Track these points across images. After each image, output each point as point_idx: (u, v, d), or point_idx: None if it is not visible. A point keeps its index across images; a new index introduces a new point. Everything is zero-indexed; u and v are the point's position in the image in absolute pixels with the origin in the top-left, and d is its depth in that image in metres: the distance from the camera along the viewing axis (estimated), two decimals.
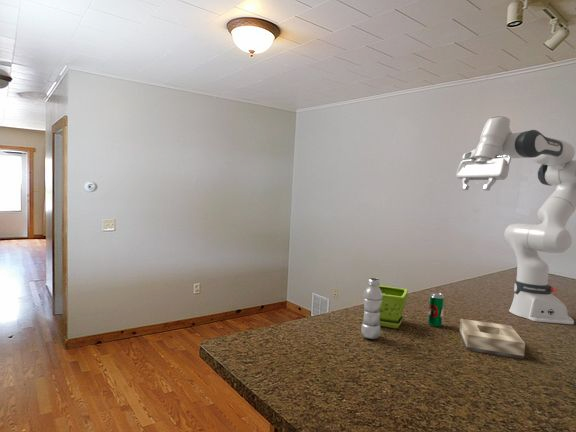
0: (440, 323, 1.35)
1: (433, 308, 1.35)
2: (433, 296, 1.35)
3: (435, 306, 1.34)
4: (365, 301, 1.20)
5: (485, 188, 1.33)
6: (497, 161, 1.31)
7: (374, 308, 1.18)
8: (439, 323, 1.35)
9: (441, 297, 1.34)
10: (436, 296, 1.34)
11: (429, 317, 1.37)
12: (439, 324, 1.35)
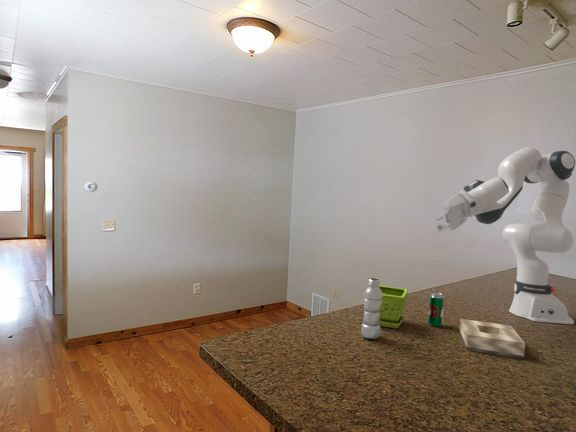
0: (440, 323, 1.35)
1: (433, 308, 1.35)
2: (433, 296, 1.35)
3: (435, 306, 1.34)
4: (365, 301, 1.20)
5: (439, 230, 1.47)
6: (463, 221, 1.47)
7: (374, 308, 1.18)
8: (439, 323, 1.35)
9: (441, 297, 1.34)
10: (436, 296, 1.34)
11: (429, 317, 1.37)
12: (439, 324, 1.35)
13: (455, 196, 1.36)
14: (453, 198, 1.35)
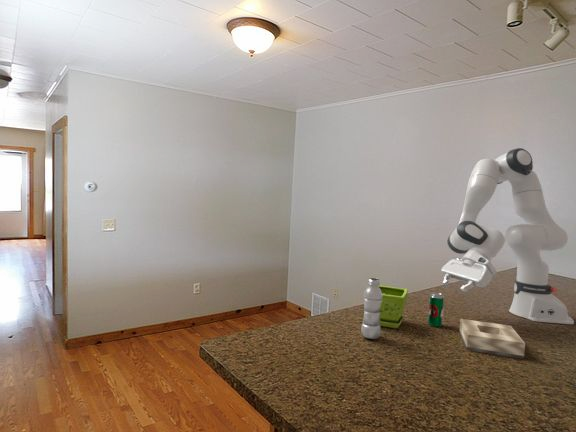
0: (440, 323, 1.35)
1: (433, 308, 1.35)
2: (433, 296, 1.35)
3: (435, 306, 1.34)
4: (365, 301, 1.20)
5: None
6: None
7: (374, 308, 1.18)
8: (439, 323, 1.35)
9: (441, 297, 1.34)
10: (436, 296, 1.34)
11: (429, 317, 1.37)
12: (439, 324, 1.35)
13: (486, 272, 1.33)
14: (485, 275, 1.32)
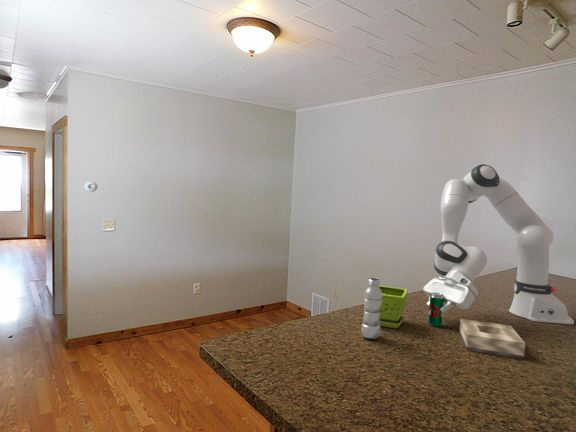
0: (440, 323, 1.35)
1: (433, 308, 1.35)
2: (433, 296, 1.35)
3: (435, 306, 1.34)
4: (365, 301, 1.20)
5: None
6: None
7: (374, 308, 1.18)
8: (439, 323, 1.35)
9: (441, 297, 1.34)
10: (436, 296, 1.34)
11: (429, 317, 1.37)
12: (439, 324, 1.35)
13: (468, 294, 1.29)
14: (467, 297, 1.29)
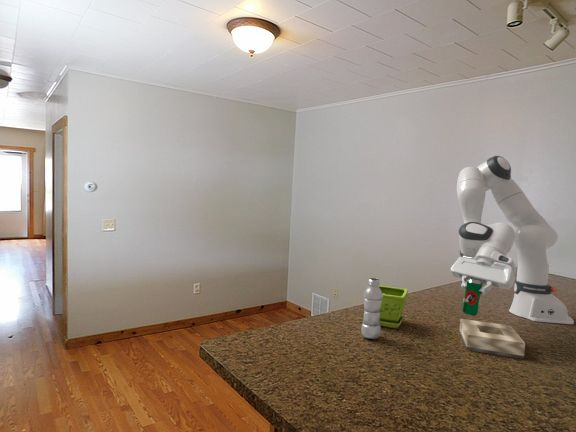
0: (477, 312, 1.23)
1: (471, 294, 1.22)
2: (472, 281, 1.23)
3: (474, 293, 1.22)
4: (365, 301, 1.20)
5: None
6: None
7: (374, 308, 1.18)
8: (476, 311, 1.22)
9: (481, 283, 1.23)
10: (476, 281, 1.22)
11: (464, 304, 1.24)
12: (476, 313, 1.22)
13: (512, 273, 1.19)
14: (512, 276, 1.19)
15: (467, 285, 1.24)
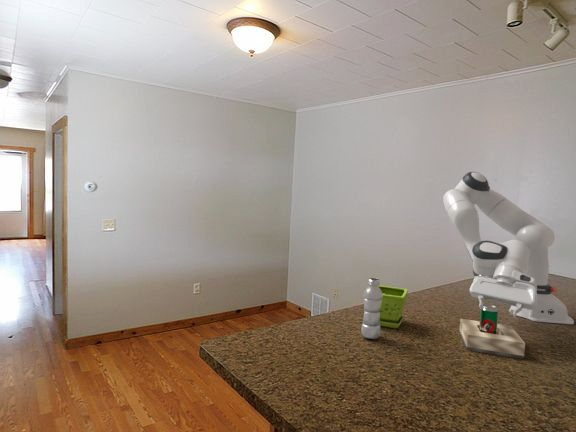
0: None
1: (488, 323, 1.18)
2: (488, 309, 1.18)
3: (491, 321, 1.17)
4: (365, 301, 1.20)
5: None
6: None
7: (374, 308, 1.18)
8: None
9: (496, 310, 1.18)
10: (492, 309, 1.18)
11: None
12: None
13: (536, 293, 1.17)
14: (536, 296, 1.17)
15: (483, 313, 1.19)
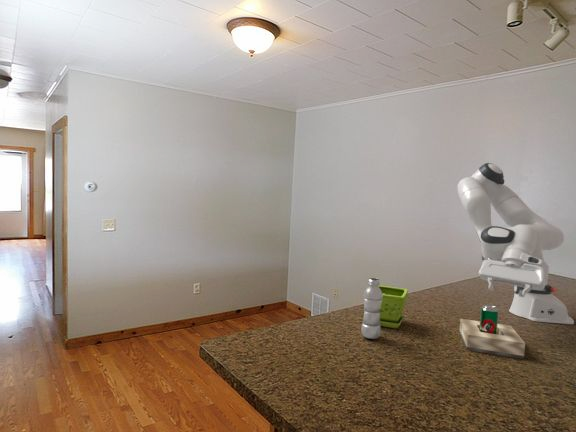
0: None
1: (489, 323, 1.18)
2: (488, 309, 1.18)
3: (491, 321, 1.17)
4: (365, 301, 1.20)
5: None
6: None
7: (374, 308, 1.18)
8: None
9: (497, 310, 1.18)
10: (492, 309, 1.18)
11: None
12: None
13: (544, 274, 1.22)
14: (544, 277, 1.21)
15: (483, 313, 1.19)
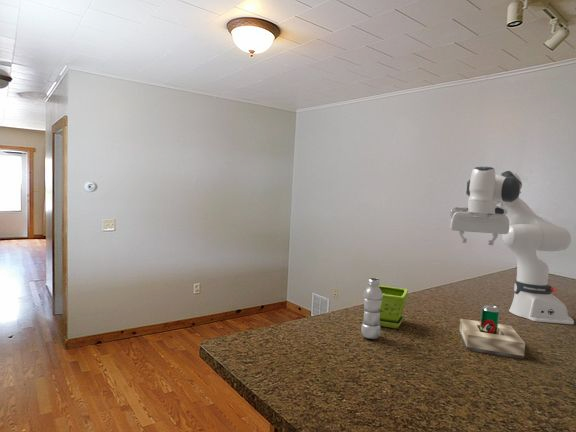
0: None
1: (489, 324, 1.17)
2: (489, 310, 1.18)
3: (492, 322, 1.17)
4: (365, 301, 1.20)
5: None
6: None
7: (374, 308, 1.18)
8: None
9: (497, 310, 1.18)
10: (493, 310, 1.17)
11: None
12: None
13: (508, 221, 1.35)
14: None
15: (484, 314, 1.19)
